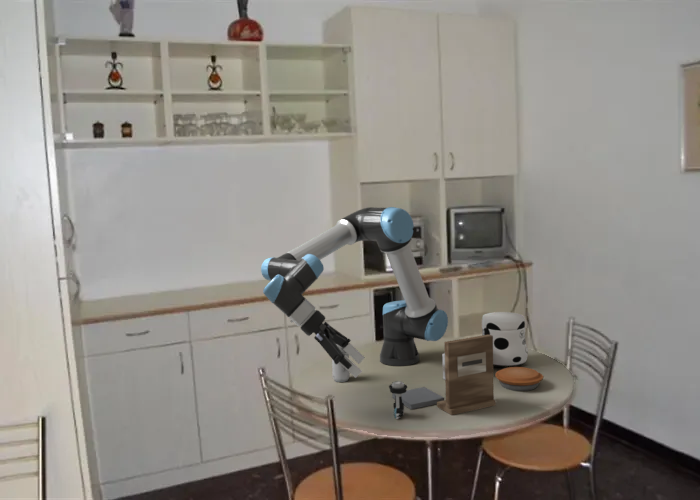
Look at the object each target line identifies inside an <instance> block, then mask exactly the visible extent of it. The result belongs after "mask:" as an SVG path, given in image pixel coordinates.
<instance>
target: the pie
mask: <svg viewBox="0 0 700 500" xmlns="http://www.w3.org/2000/svg"><path fill="white" fill-rule="evenodd" d="M494 375H495V378H496V379H497V381H499V382H498V383H500V385H501V386H502V387H503V388H504V389H506V390H511V391H515V392H528V391H533V390H534V389H536V388H537V387H538V385H539V384H540V382H542V381H543V379H544V375H543V374H542V373H540V372H538V370H536V369H533V368H530V367H524V366H515V367H503V368H502V369H499V370H498V371H496V372H495V374H494Z"/></svg>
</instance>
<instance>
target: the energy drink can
mask: <svg viewBox="0 0 700 500" xmlns="http://www.w3.org/2000/svg"><path fill="white" fill-rule="evenodd" d="M336 345H337V344H336ZM337 346H338V348H339V349H340V350H341V352H342V353H343V355H344V356H345V355H346V356H347V357H348V358H349V359H350V355H349V354H347V353H346V352H345V351H344V350H343V349H344V348H345V347H344V348H342V347H341V346H339V345H337ZM331 368H332V369H331V371H332V373H331V374H332V379H333V380H334V381H333V382H335V383H345V382H348V381H349V378H350V375H351V373H350V372H348V371H347V370H346V369H345V368H344V367H343V366H342V365H341V364H340V363H338V364H335V363H334V361H333V359H332V358H331Z"/></svg>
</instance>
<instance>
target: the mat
mask: <svg viewBox="0 0 700 500" xmlns="http://www.w3.org/2000/svg"><path fill="white" fill-rule="evenodd" d="M391 395H392V397H391V398H392V399H394V400H395V394H393V393H391ZM401 396H402V403H404V407H407V408H409V409H410V410H414V409H420V408H423V407H424V408H425V407H428V406H434V405H437V402H439V401H444V400H445V397H444V396H443V395H440V394H438V393H436V392H434V391H433V390H432V389H429V388H428V387H425V386H422V387H417V388H416V387H415V388H411V389H406V392H405V393H404V394H401Z"/></svg>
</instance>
